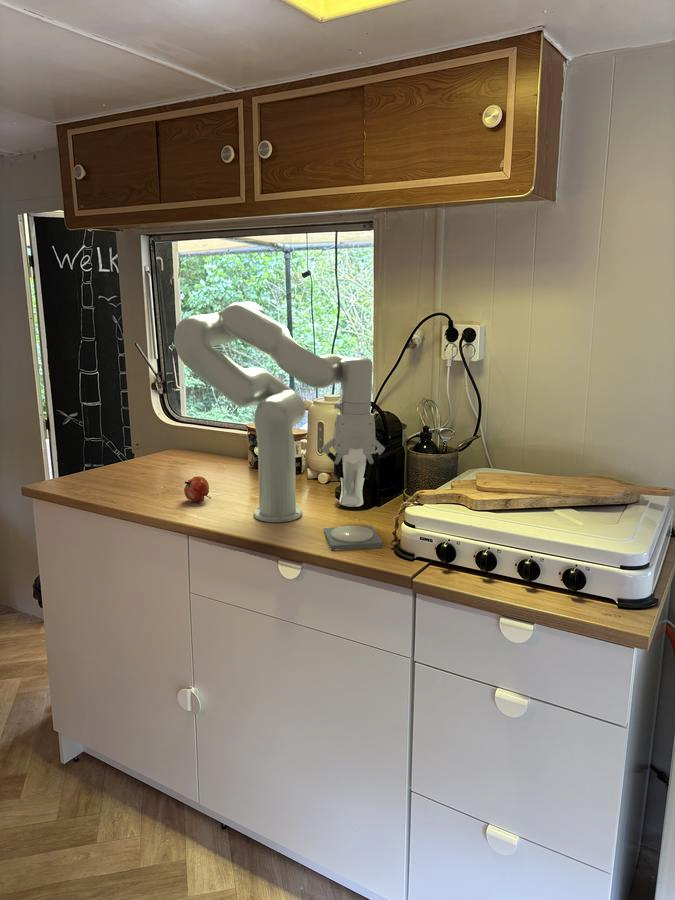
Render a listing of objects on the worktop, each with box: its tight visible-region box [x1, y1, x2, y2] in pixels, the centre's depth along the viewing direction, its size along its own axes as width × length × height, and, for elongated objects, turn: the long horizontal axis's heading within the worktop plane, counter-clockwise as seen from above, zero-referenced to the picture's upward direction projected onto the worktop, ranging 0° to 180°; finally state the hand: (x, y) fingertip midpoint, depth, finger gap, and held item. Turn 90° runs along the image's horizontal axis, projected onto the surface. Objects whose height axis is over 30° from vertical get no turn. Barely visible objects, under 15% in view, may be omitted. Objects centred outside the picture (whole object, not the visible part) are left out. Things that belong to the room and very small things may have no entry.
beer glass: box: [338, 448, 367, 508], centre depth 176 cm, size 7×7×15 cm
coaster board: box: [323, 525, 383, 551], centre depth 166 cm, size 12×12×2 cm
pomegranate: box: [183, 476, 212, 504], centre depth 196 cm, size 7×7×10 cm
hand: (352, 477), depth 176 cm, fingers closed on beer glass, 6 cm apart
